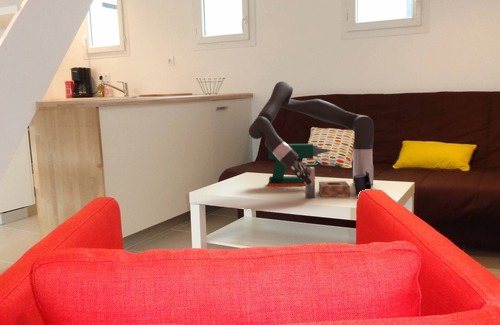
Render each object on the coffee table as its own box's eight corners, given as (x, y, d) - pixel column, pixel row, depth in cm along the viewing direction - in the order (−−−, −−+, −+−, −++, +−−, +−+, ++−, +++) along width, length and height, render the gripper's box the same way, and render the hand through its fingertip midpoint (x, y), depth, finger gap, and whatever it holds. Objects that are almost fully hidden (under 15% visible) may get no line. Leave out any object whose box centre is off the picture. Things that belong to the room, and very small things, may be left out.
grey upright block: (307, 195, 203) (306, 166, 201) (316, 195, 202) (316, 166, 200) (303, 198, 196) (303, 168, 195) (313, 199, 195) (313, 168, 193)
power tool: (332, 183, 232) (332, 143, 229) (333, 185, 225) (333, 144, 222) (268, 183, 235) (268, 144, 232) (267, 186, 228) (267, 145, 225)
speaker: (374, 193, 203) (371, 170, 202) (372, 196, 198) (369, 172, 197) (356, 193, 206) (354, 171, 205) (354, 197, 201) (351, 173, 200)
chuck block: (345, 190, 211) (345, 181, 210) (349, 196, 199) (349, 186, 198) (318, 191, 212) (318, 181, 211) (321, 196, 200) (321, 186, 199)
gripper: (283, 158, 208) (309, 184, 206) (275, 162, 194) (302, 190, 192) (295, 146, 205) (321, 173, 203) (287, 150, 192) (315, 178, 190)
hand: (312, 181), depth 198 cm, fingers open, 8 cm apart
